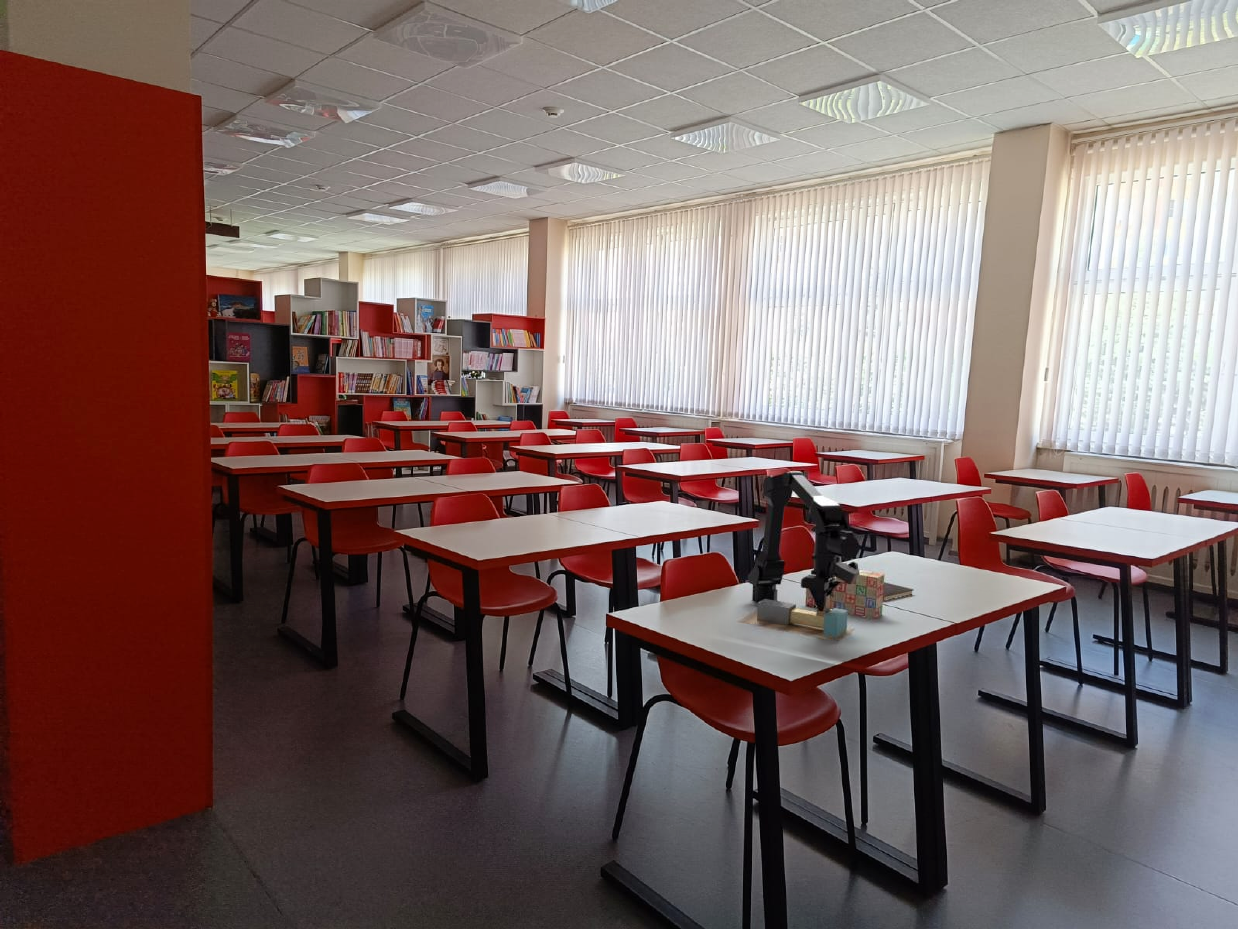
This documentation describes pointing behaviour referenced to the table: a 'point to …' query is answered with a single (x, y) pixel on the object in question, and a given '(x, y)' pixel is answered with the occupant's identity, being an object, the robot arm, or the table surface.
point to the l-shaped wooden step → (810, 615)
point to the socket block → (835, 622)
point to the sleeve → (774, 612)
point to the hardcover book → (895, 591)
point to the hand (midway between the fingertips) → (823, 609)
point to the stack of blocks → (857, 595)
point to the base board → (793, 628)
